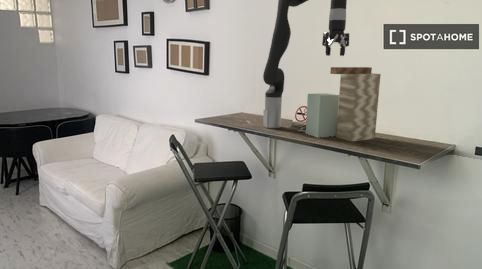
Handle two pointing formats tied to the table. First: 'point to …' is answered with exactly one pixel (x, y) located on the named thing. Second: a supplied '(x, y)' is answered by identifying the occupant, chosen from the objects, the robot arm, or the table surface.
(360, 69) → the bar
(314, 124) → the short pedestal
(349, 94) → the tall stand
